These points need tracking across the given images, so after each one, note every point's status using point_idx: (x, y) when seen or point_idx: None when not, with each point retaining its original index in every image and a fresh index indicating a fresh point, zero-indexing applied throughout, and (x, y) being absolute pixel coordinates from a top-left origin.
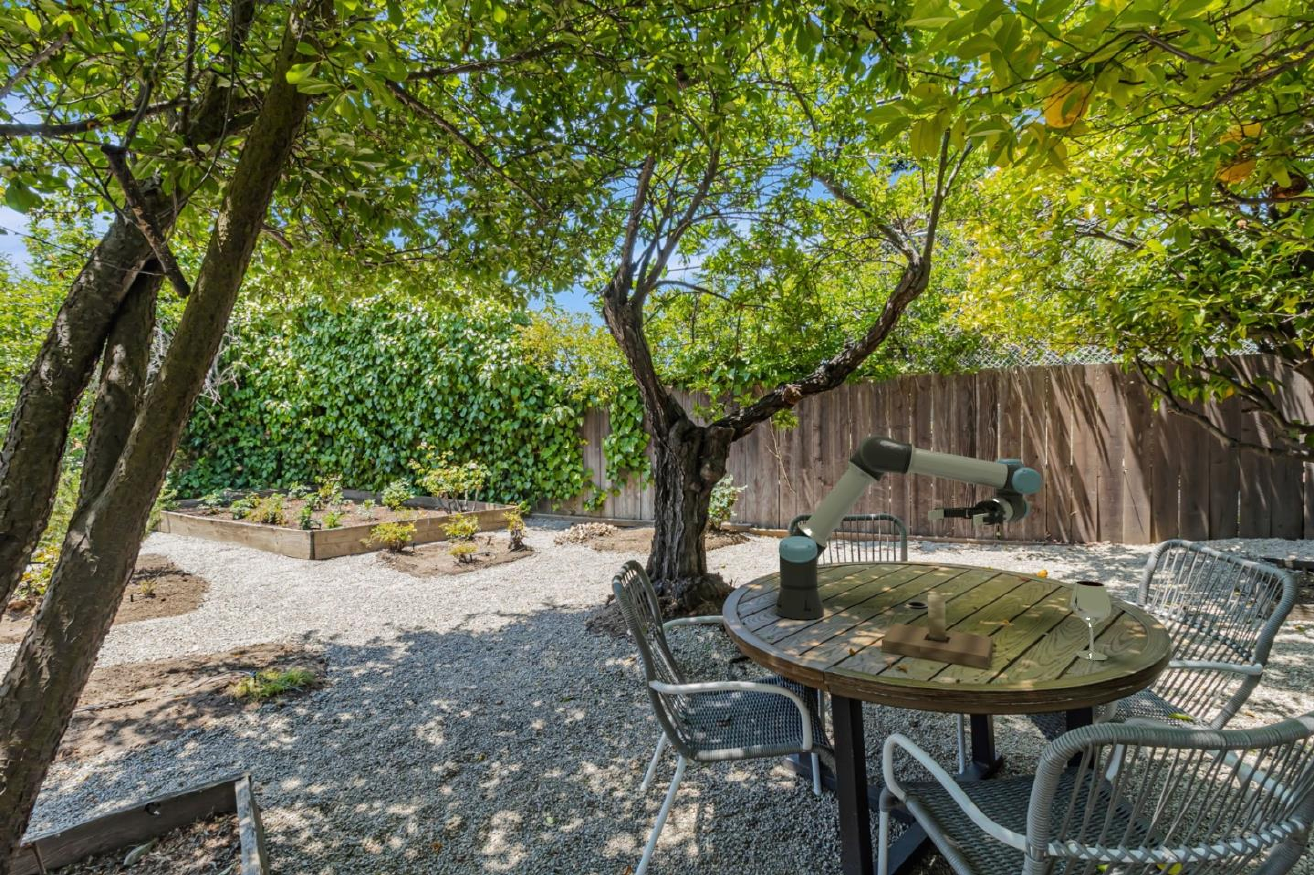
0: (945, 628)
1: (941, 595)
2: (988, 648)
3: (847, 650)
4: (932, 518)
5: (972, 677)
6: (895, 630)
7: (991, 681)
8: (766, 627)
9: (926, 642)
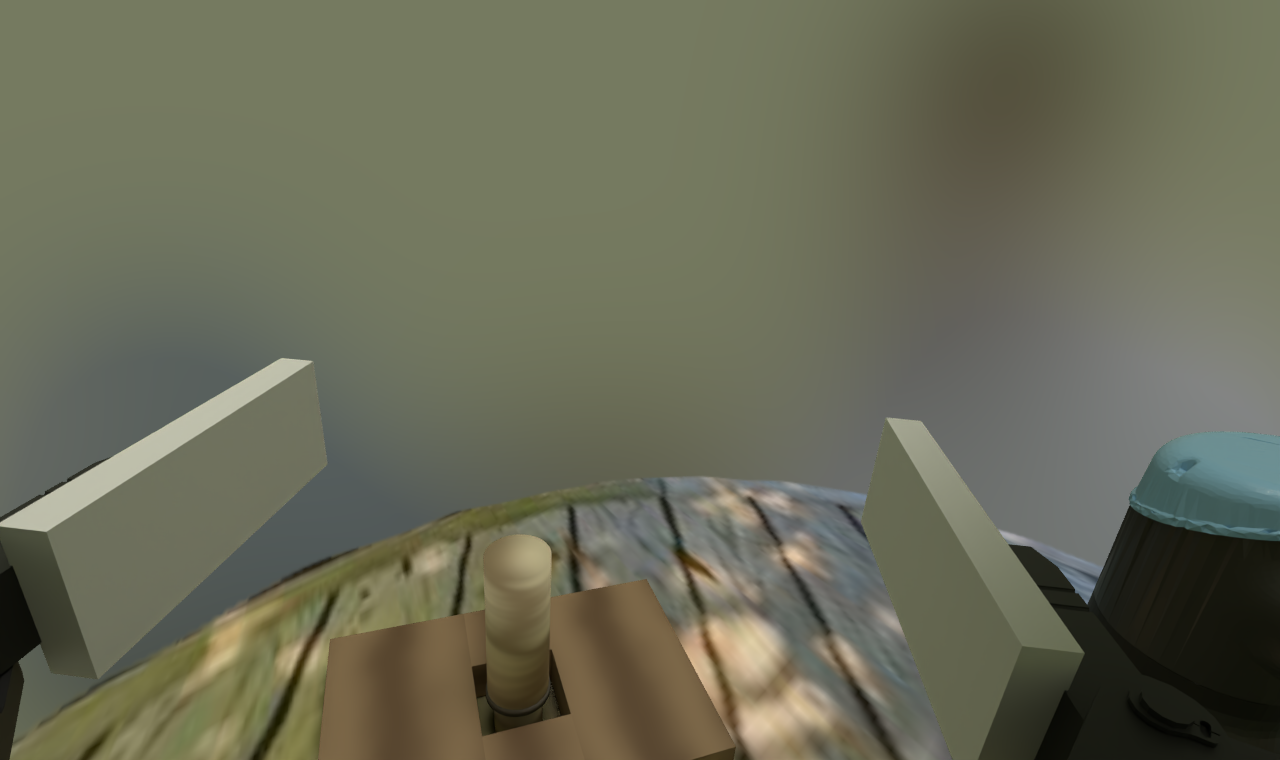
0: (486, 659)
1: (502, 570)
2: (327, 712)
3: (709, 565)
4: (874, 528)
5: (374, 600)
6: (673, 671)
7: (324, 606)
8: None
9: None
